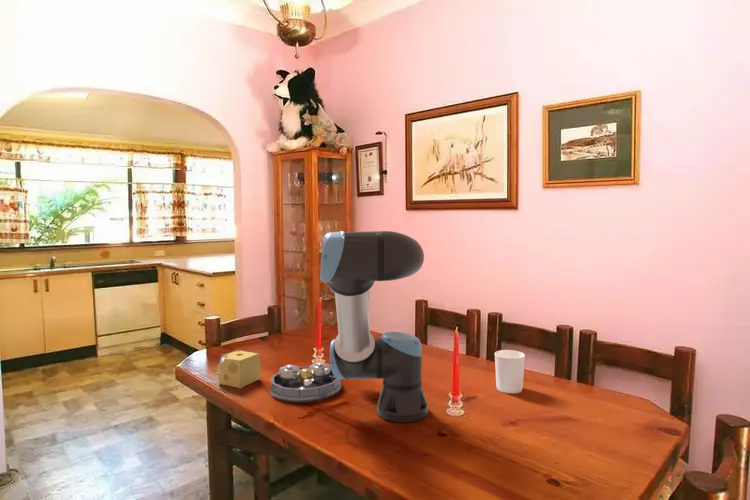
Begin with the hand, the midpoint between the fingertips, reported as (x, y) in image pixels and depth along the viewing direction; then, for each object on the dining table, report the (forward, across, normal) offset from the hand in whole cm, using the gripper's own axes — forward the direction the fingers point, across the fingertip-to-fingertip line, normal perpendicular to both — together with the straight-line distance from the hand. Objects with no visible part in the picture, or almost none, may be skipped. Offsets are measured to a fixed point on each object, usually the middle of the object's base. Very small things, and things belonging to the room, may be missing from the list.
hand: (358, 355), depth 160 cm
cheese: (+11, +16, +40) cm, 45 cm away
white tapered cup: (+11, -16, -48) cm, 52 cm away
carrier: (+11, +3, +18) cm, 21 cm away
